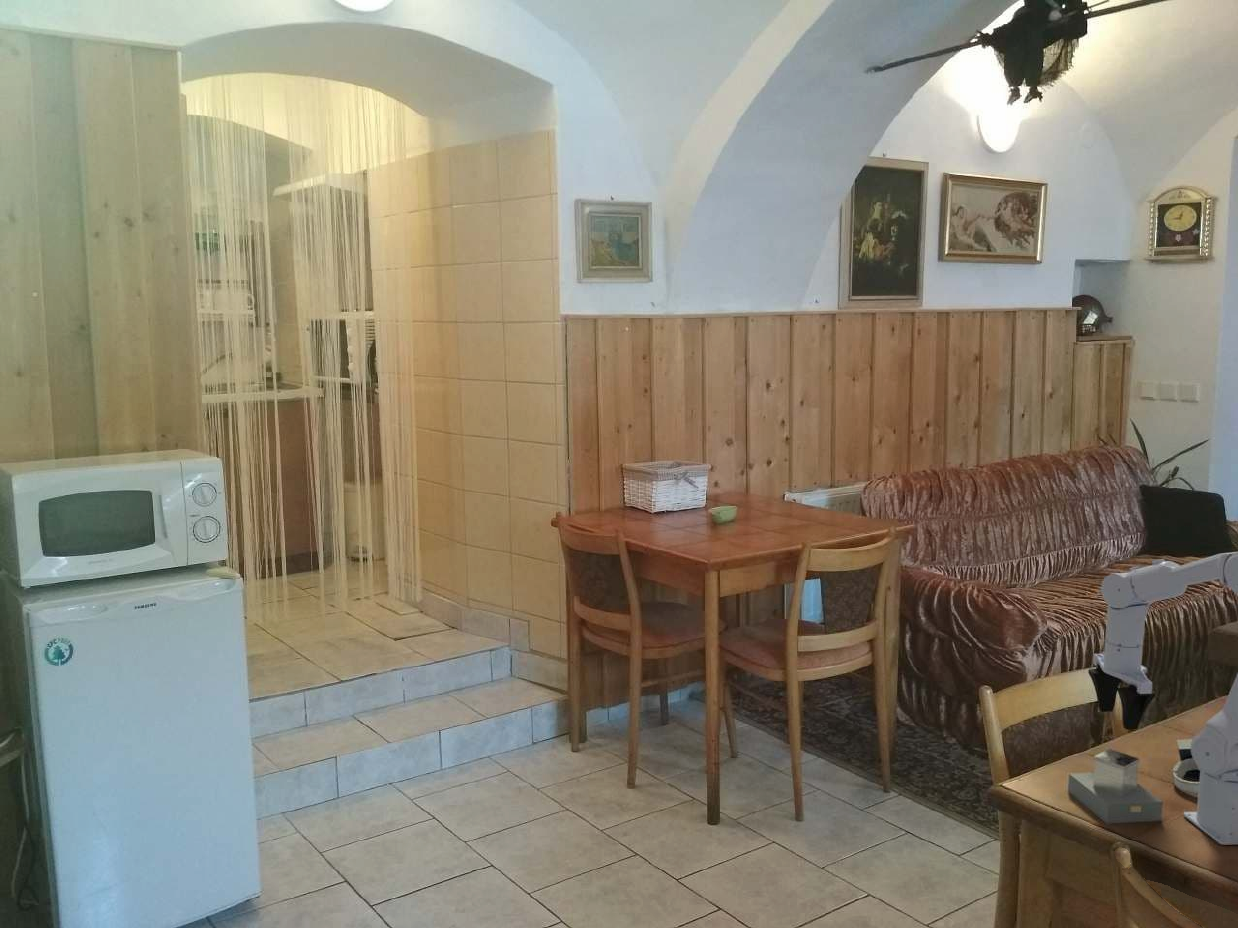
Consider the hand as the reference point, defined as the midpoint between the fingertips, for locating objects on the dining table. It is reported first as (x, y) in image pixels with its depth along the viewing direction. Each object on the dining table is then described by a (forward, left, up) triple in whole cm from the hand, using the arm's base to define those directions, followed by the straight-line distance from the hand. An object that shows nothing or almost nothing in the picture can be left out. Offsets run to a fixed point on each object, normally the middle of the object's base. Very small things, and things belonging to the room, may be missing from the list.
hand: (1118, 719), depth 176 cm
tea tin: (-12, +7, -6) cm, 15 cm away
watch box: (-12, +7, -10) cm, 17 cm away
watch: (0, -14, -6) cm, 15 cm away
